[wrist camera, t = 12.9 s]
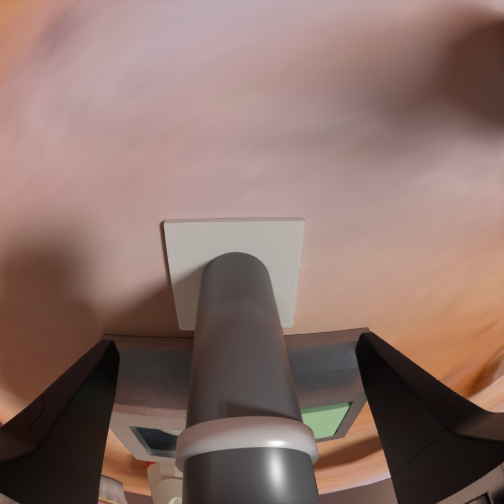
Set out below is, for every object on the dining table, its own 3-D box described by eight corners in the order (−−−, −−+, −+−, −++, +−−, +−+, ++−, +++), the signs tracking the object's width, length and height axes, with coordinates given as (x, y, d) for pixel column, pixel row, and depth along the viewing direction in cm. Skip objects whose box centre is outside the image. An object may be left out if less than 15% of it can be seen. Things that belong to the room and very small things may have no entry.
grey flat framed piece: (328, 421, 21) (339, 460, 18) (149, 427, 20) (144, 467, 17) (368, 327, 16) (395, 378, 12) (103, 334, 15) (81, 388, 11)
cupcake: (100, 483, 34) (94, 523, 25) (71, 465, 29) (62, 510, 21) (140, 490, 34) (137, 533, 25) (113, 474, 29) (107, 525, 20)
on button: (326, 414, 19) (332, 435, 17) (270, 421, 18) (273, 443, 16) (340, 382, 17) (349, 406, 15) (274, 390, 16) (279, 416, 14)
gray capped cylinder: (276, 247, 12) (348, 487, 4) (272, 311, 14) (312, 513, 5) (193, 248, 12) (154, 498, 3) (200, 313, 14) (187, 520, 5)
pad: (291, 322, 15) (292, 327, 15) (180, 325, 15) (179, 330, 14) (303, 217, 12) (305, 221, 12) (165, 219, 12) (163, 223, 12)
